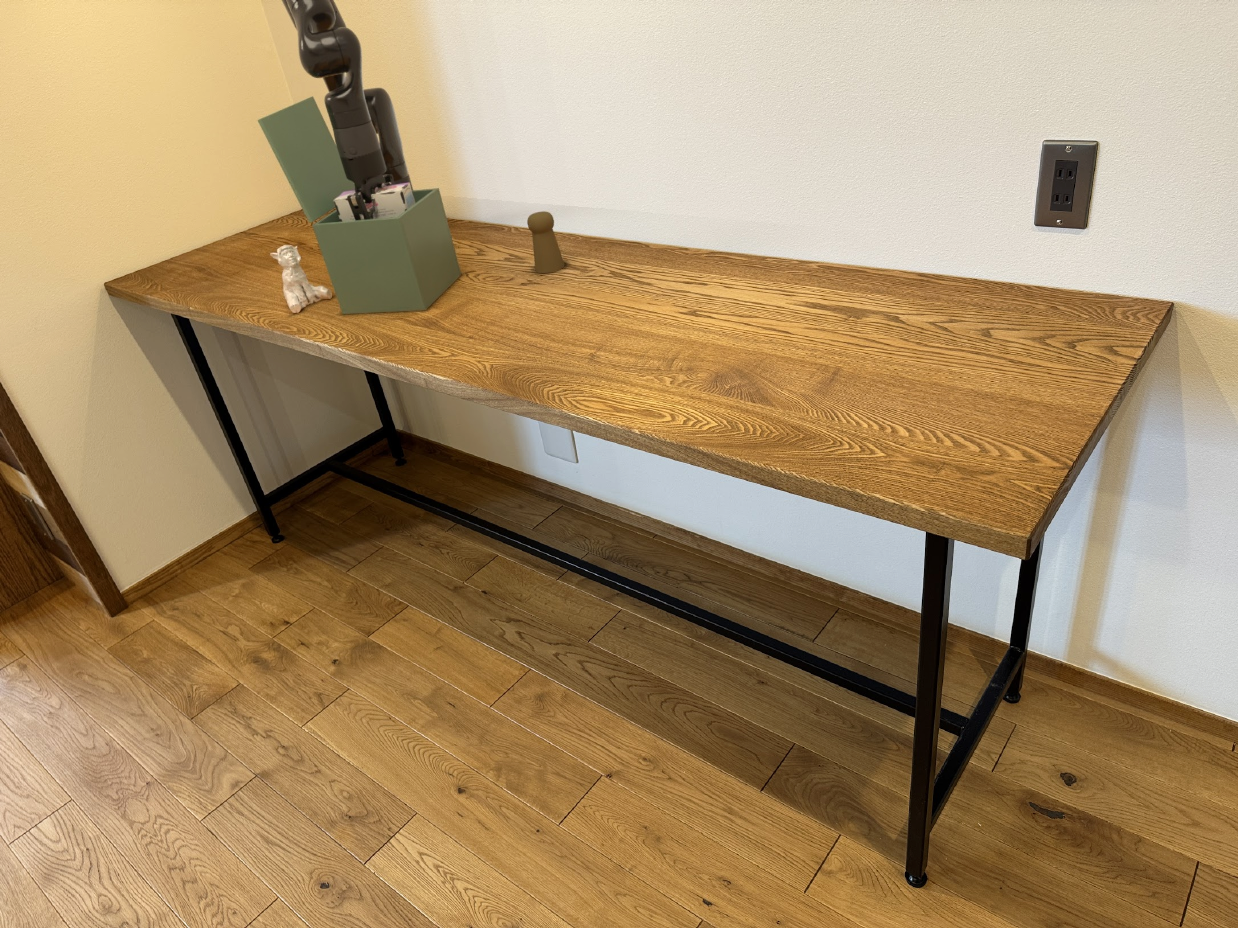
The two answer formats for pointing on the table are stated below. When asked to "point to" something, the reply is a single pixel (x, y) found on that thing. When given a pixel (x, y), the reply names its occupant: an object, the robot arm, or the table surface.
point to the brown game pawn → (544, 243)
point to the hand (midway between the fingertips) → (386, 238)
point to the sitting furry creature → (297, 280)
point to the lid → (307, 156)
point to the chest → (390, 257)
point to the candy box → (379, 202)
